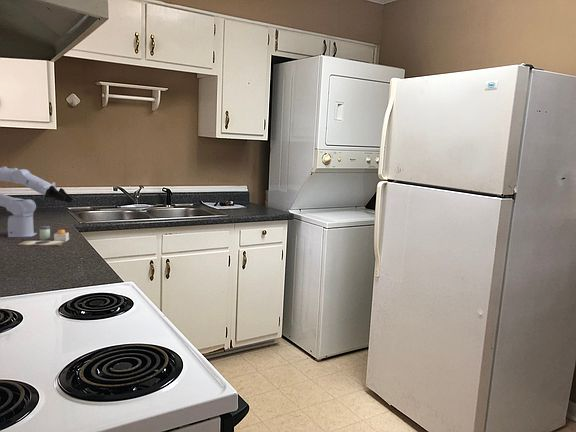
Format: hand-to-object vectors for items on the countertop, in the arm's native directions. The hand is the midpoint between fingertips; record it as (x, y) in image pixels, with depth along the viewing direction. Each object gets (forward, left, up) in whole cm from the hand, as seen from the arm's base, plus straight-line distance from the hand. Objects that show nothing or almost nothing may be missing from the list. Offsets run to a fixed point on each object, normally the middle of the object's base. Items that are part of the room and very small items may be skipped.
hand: (68, 200), depth 208 cm
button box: (-1, -6, -17) cm, 18 cm away
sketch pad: (-7, -13, -17) cm, 22 cm away
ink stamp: (-8, -6, -17) cm, 19 cm away
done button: (-1, -6, -15) cm, 16 cm away
